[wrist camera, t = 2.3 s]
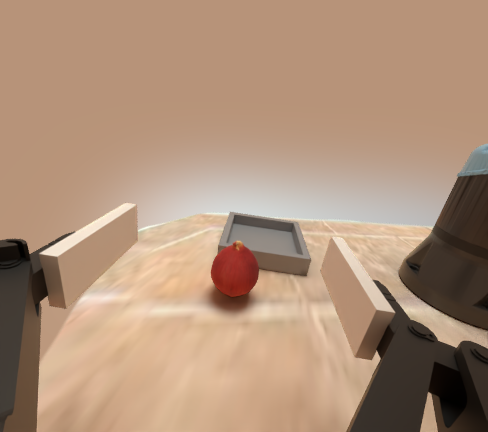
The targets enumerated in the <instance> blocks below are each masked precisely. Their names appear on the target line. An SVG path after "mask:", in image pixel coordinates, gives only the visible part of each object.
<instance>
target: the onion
mask: <svg viewBox="0 0 488 432" xmlns="http://www.w3.org/2000/svg"><path fill="white" fill-rule="evenodd" d="M258 274H259V266H258V262H257V259H256V258H255V256H254V254H253V253H252V252H251V250H250V249H248V248H247V247H245V246H244V244H243V243H242V242H241V241H235V242H234V243H233V245H230V246H228V247H226V248H224V249H223V250H221V251H220V252H219V254H218V255H217V256H216V257H215V259H214V261H213V265H212V269H211V278H212V280H213V282H214V284H215V286H216V288H217V289H219V290H220V291H221V292H222V293H224V294H226V295H228V296H230V297H235V296H240V295H244V294H246V293H248V292H249V291H250V290H251V289H253V287H254V286H255V284H256V282H257V280H258Z"/></svg>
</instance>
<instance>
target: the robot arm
mask: <svg viewBox="0 0 488 432" xmlns="http://www.w3.org/2000/svg"><path fill="white" fill-rule="evenodd" d="M457 176H458V179H457V181H456V183H455V185H454V187H453V189H452V191H451V193H450V195H449V197H448V199H447V201H446V204H445V205H444V208H443V209H442V212H441V214H440V216H439V218H438V220H437V222H436V224H435V226H434V228H433V230H432V232H431V234H430V235H429V236H428V237H427V238H426V239H425V240H424V241H423V242H422V243H421V244H420V245H419V246H417V247H416V248H415V249H414V250H413V251H412V252H411V253H410V254H409V255H408V256H407V257H406V258H405V259H404V261H403V263H402V265H401V267H400V269H399V275H400V278H401V279H402V281H403V282H404V283H405V285H406V286H407V287H408V288H409V289H410V290H411V291H413V292H414V293H415V294H416V295H417V296H419V297H420V298H421V299H423V300H424V301H426V302H427V303H429V304H430V305H432V306H434V307H435V308H437V309H439V310H441V311H443V312H445V313H446V314H449V315H451V316H453V317H455V318H457V319H459V320H462V321H464V322H467V323H469V324H472V325H475V326H478V327H482V328H485V329H488V144H484V145H482V146H480V147H478V148H476V149H475V150H474V151H473V152H472V153H471V155H470V156H469V158H468V160H467V162H466V163H465V165H464V167H463V169H462V170H461V172H460V173H458V175H457ZM137 241H138V230H137V205H136V204H130V203H124V204H123V205H121V206H119V207H118V208H116V209H114V210H112V211H111V212H109V213H107V214H106V215H104V216H102V217H101V218H99V219H97V220H95V221H94V222H92V223H90V224H89V225H87V226H85V227H84V228H82V229H80V230H78V231H77V232H72V233H68V234H65V235H63V236H61V237H59V238H58V239H56V240H55V241H52V242H51V243H49V244H48V245H46V246H44V247H42V248H40V249H38V250H37V251H35V252H33V253H31V254H29V250H28V246H27V243H26V241H24V240H21V239H6V240H0V432H36V428H37V403H38V379H39V354H40V329H41V304H40V301H41V300H43V299H44V298H45V297H46V296H48V300H49V304H50V306H53V307H59V308H64V309H67V308H68V307H69V306H70V305H71V304H72V303H73V302H74V301H75V300H76V299H77V298H78V297H79V296H80V295H81V294H82V293H83V292H85V291H86V290H87V289H88V288H89V287H90V286H91V285H92V284H93V283H94V282H95V281H96V280H97V279H98V278H99V277H100V276H101V275H102V274H103V273H104V272H106V271H107V270H108V269H109V268H110V267H111V266H112V265H113V264H114V263H115V262H116V261H117V260H118V259H119V258H120V257H121V256H122V255H123V254H124V253H125V252H127V251H128V250H129V249H130V248H131V247H132V246H133V245H134V244H135V243H136V242H137ZM320 271H321V274H322V276H323V279H324V281H325V284H326V286H327V289H328V291H329V294H330V296H331V299H332V301H333V304H334V306H335V309H336V311H337V314H338V316H339V319H340V322H341V324H342V327H343V329H344V332H345V334H346V337H347V339H348V342H349V344H350V347H351V349H352V352H353V354H354V357H356V358H362V359H368V360H372V359H373V357H374V355H375V353H376V351H377V352H378V354H379V356H380V358H381V360H380V362H379V364H378V366H377V368H376V370H375V371H374V373H373V375H372V378H371V381H370V383H369V385H368V387H367V389H366V391H365V393H364V395H363V397H362V400H361V402H360V404H359V406H358V408H357V410H356V412H355V414H354V416H353V418H352V421H351V423H350V425H349V427H348V429H347V431H346V432H420V428H421V423H422V418H423V413H424V409H425V404H426V399H427V394H428V392H429V393H431V394H432V400H433V405H434V411H435V417H436V423H437V428H438V432H488V349H487V348H485V347H483V346H481V345H479V344H477V343H474V342H471V341H462V342H461V343H460V344H459V346H458V347H457V348H455V347H453V346H450V345H448V344H445V343H442V342H440V341H438V340H437V337H436V336H435V335H434V333H433V332H432V331H431V330H429V329H428V328H427V327H425V326H424V325H422V324H421V323H418V322H416V321H414V320H410V318H409V317H408V316H407V314H406V313H405V312H404V310H403V309H402V308H401V306H400V305H399V304H398V302H396V300H395V298H394V297H393V296H391V293H390V292H389V291H388V289H387V288H386V287H385V286H384V285H383V284H381V283H380V282H379V281H377V280H372V279H371V277H370V276H369V275H368V273H367V272H366V270H365V269H364V267H363V266H362V265H361V263H360V262H359V260H358V259H357V258H356V256H355V255H354V253H353V252H352V250H351V249H350V248H349V246H348V245H347V243H346V242H345V241H344V239H343V238H339V237H333V236H331V239H330V242H329V245H328V248H327V252H326V255H325V258H324V261H323V264H322V267H321V270H320Z"/></svg>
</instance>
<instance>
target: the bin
mask: <svg viewBox="0 0 488 432" xmlns="http://www.w3.org/2000/svg"><path fill="white" fill-rule="evenodd" d="M235 241H241V242H242V243H243V244H244V246H245V247H247V248H248V249H250V250H251V252H252V253H253V254H254V256H255V258H256V259H257V262H258V266H259V269H265V270H271V271H278V272H284V273H291V274H297V275H304V276H307V272H308V269H309V265H310V262H311V258H310V255H309V252H308V249H307V246H306V244H305V241H304V238H303V235H302V232H301V229H300V227H299V224H298V222H294V221H287V220H281V219H274V218H267V217H261V216H254V215H248V214H241V213H234V212H230V214H229V217H228V220H227V223H226V225H225V228H224V231H223V234H222V237H221V240H220V243H219V246H218V254H219V252H220V251H221V250H223V249H224V248H226V247H228V246H230V245H233V243H234V242H235Z"/></svg>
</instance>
